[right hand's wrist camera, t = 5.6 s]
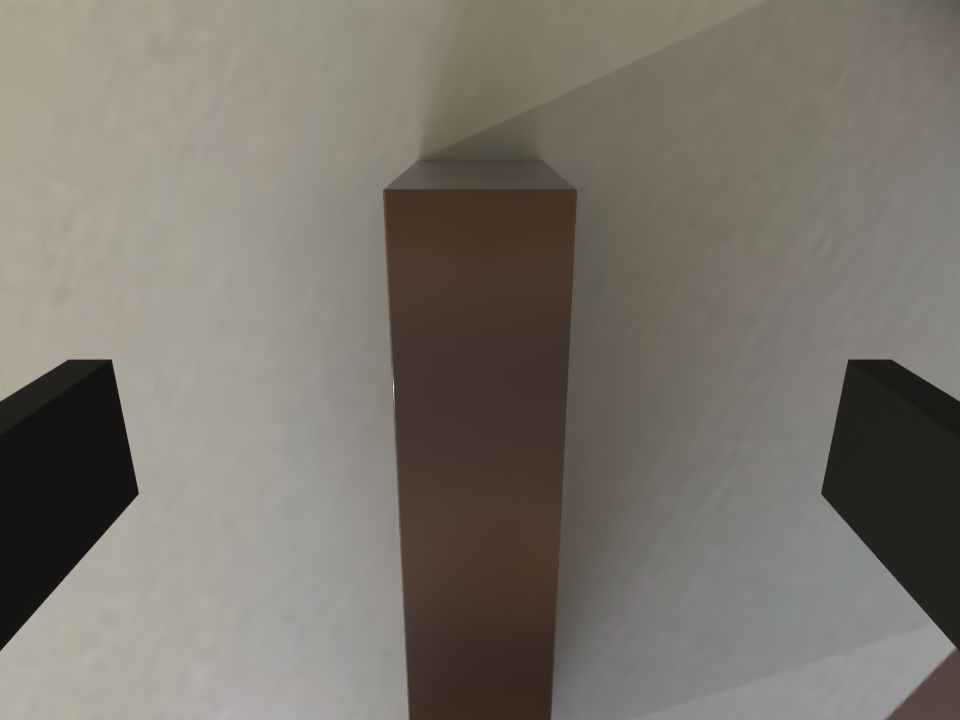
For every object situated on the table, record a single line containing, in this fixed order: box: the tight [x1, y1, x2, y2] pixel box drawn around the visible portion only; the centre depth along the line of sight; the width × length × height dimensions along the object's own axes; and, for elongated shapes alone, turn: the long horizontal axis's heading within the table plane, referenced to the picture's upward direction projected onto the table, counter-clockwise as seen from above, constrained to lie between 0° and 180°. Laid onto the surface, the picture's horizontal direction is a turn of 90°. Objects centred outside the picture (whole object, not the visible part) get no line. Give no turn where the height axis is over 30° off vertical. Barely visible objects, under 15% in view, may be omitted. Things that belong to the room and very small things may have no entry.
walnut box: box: [383, 161, 577, 720], centre depth 28 cm, size 32×5×10 cm, turn 0°
